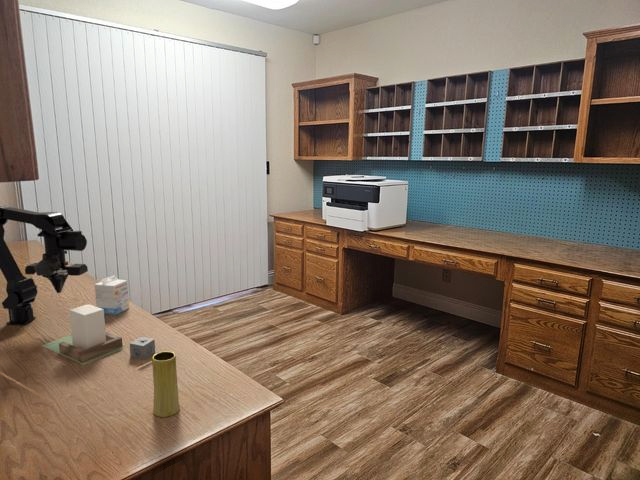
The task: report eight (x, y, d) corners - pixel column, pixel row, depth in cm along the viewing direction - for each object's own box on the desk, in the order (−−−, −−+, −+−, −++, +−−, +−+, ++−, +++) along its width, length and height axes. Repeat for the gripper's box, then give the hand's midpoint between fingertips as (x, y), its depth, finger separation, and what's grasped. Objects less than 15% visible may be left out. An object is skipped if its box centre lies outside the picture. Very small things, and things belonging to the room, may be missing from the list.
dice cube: (144, 361, 129) (143, 345, 128) (130, 358, 130) (129, 343, 129) (155, 354, 133) (154, 339, 132) (142, 351, 135) (141, 336, 134)
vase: (157, 403, 107) (154, 350, 105) (182, 402, 108) (180, 349, 105) (149, 418, 102) (146, 362, 99) (176, 417, 102) (174, 361, 99)
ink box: (115, 315, 163) (113, 281, 160) (96, 313, 164) (93, 279, 162) (129, 308, 171) (127, 275, 168) (111, 306, 173) (108, 273, 170)
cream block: (73, 349, 134) (69, 309, 131) (91, 342, 139) (88, 304, 136) (88, 355, 130) (84, 315, 127) (106, 348, 135) (103, 309, 132)
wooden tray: (59, 352, 131) (58, 343, 131) (99, 337, 142) (99, 329, 142) (82, 362, 125) (81, 353, 125) (122, 346, 136) (122, 337, 136)
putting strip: (41, 346, 136) (41, 345, 136) (84, 331, 148) (84, 330, 148) (83, 366, 124) (83, 364, 124) (126, 348, 136) (126, 347, 136)
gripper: (10, 254, 140) (16, 299, 143) (68, 255, 140) (72, 301, 143) (33, 246, 151) (38, 289, 154) (86, 248, 151) (90, 290, 154)
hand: (59, 292), depth 151 cm, fingers closed
